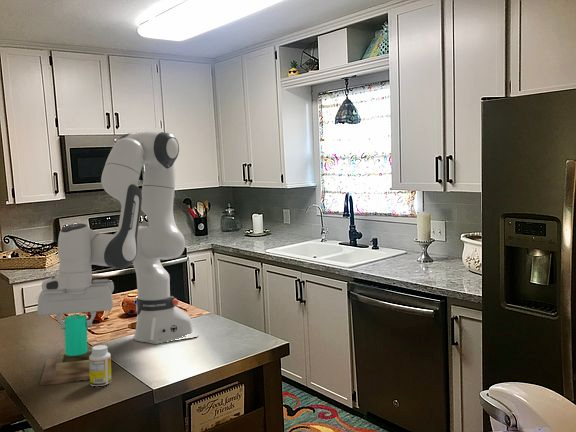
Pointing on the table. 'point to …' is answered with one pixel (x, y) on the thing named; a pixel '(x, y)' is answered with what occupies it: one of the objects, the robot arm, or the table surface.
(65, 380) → the candle holder
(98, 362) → the supplement bottle
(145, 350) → the table surface
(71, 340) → the candle
